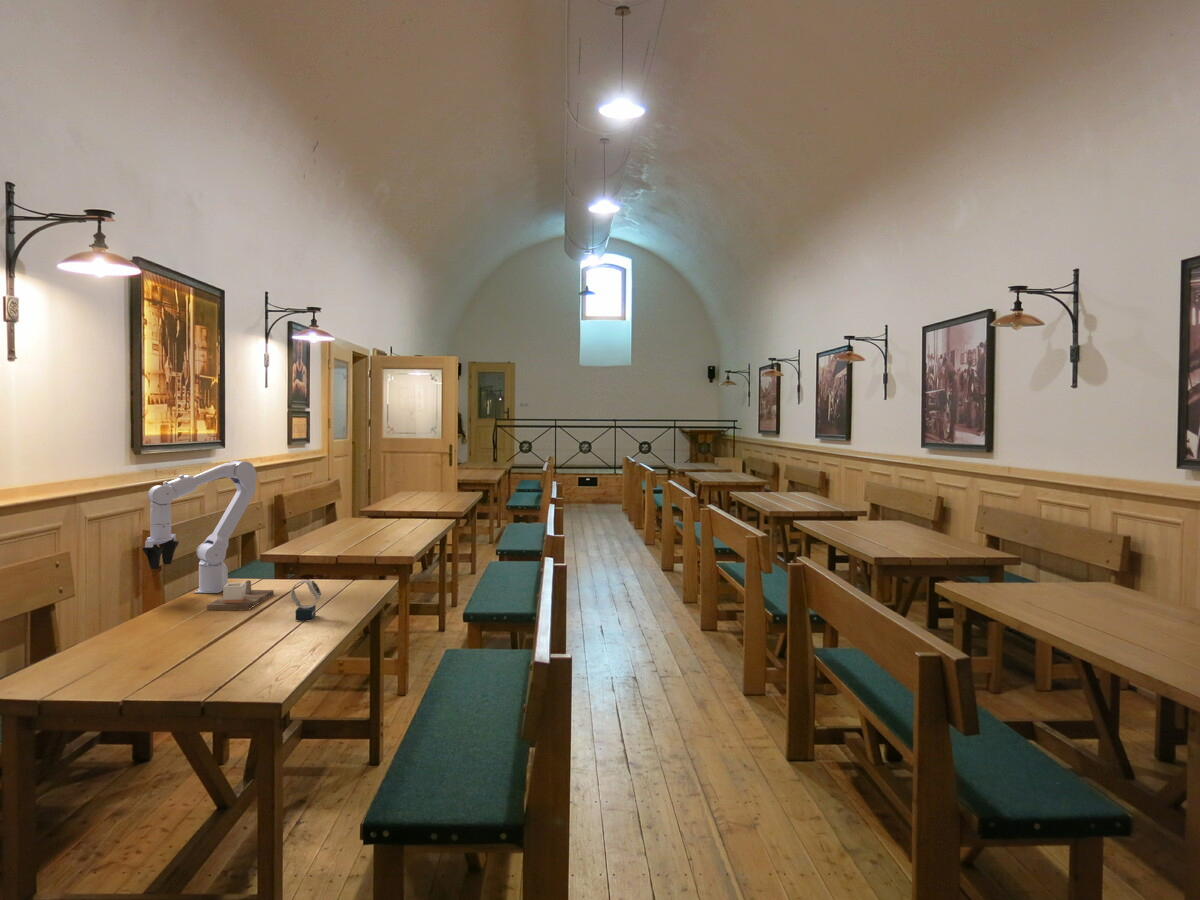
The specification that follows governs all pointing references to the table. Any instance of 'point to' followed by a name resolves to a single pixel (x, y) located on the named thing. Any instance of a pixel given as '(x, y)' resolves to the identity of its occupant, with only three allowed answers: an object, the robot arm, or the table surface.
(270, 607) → the table surface
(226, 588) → the sleeve
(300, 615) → the watch
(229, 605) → the pin board
